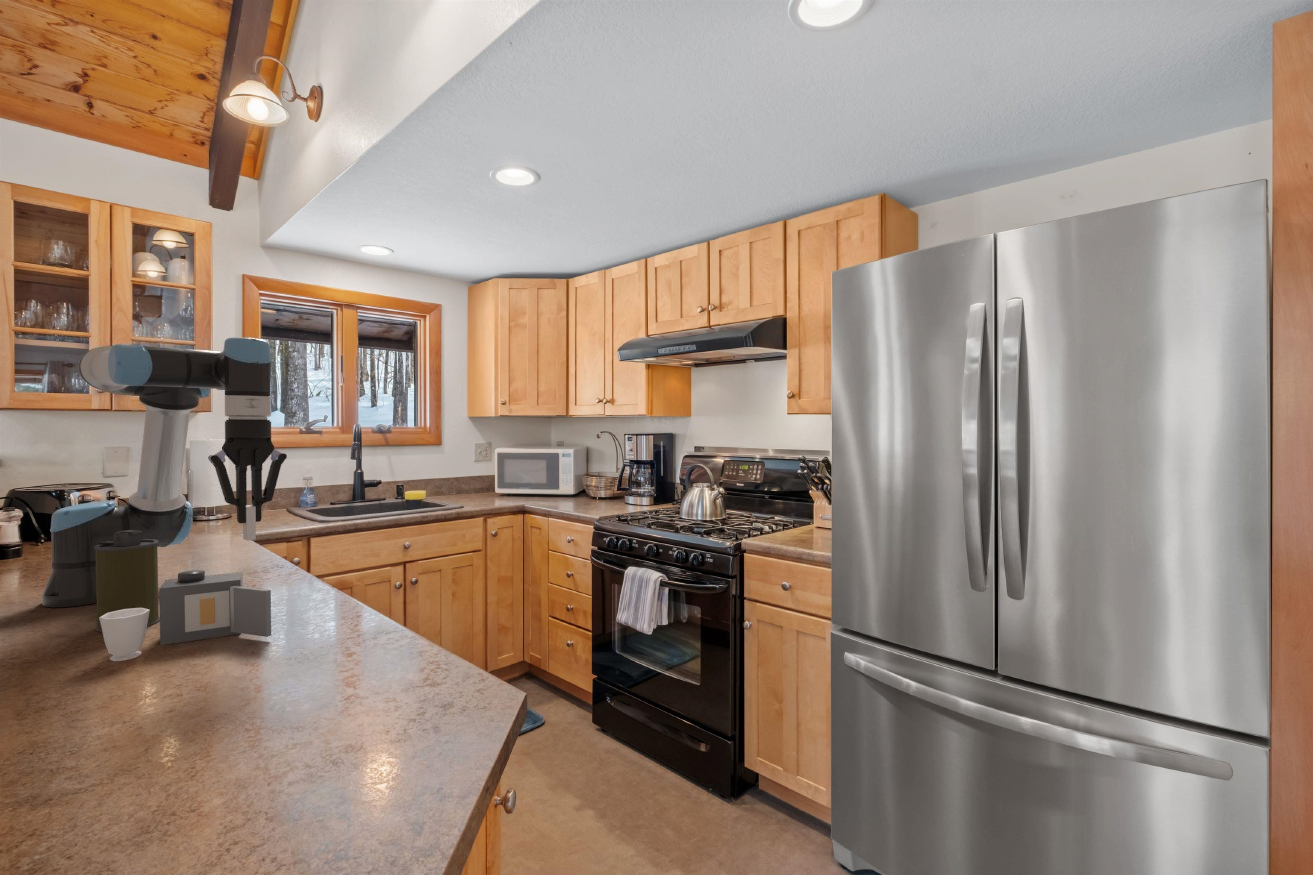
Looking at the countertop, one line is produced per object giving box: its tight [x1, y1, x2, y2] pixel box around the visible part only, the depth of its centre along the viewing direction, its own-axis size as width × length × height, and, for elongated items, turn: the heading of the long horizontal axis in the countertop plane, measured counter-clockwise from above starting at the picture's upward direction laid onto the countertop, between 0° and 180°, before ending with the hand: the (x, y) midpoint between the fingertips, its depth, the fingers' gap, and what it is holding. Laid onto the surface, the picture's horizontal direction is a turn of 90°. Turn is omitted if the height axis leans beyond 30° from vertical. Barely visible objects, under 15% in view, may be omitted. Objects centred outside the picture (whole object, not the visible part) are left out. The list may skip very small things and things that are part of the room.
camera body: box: [158, 569, 244, 646], centre depth 126 cm, size 8×13×12 cm, turn 121°
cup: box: [99, 608, 150, 662], centre depth 115 cm, size 7×10×8 cm
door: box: [230, 586, 272, 638], centre depth 123 cm, size 2×10×9 cm, turn 71°
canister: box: [94, 530, 160, 633], centre depth 132 cm, size 11×10×20 cm
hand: (249, 539), depth 121 cm, fingers closed
